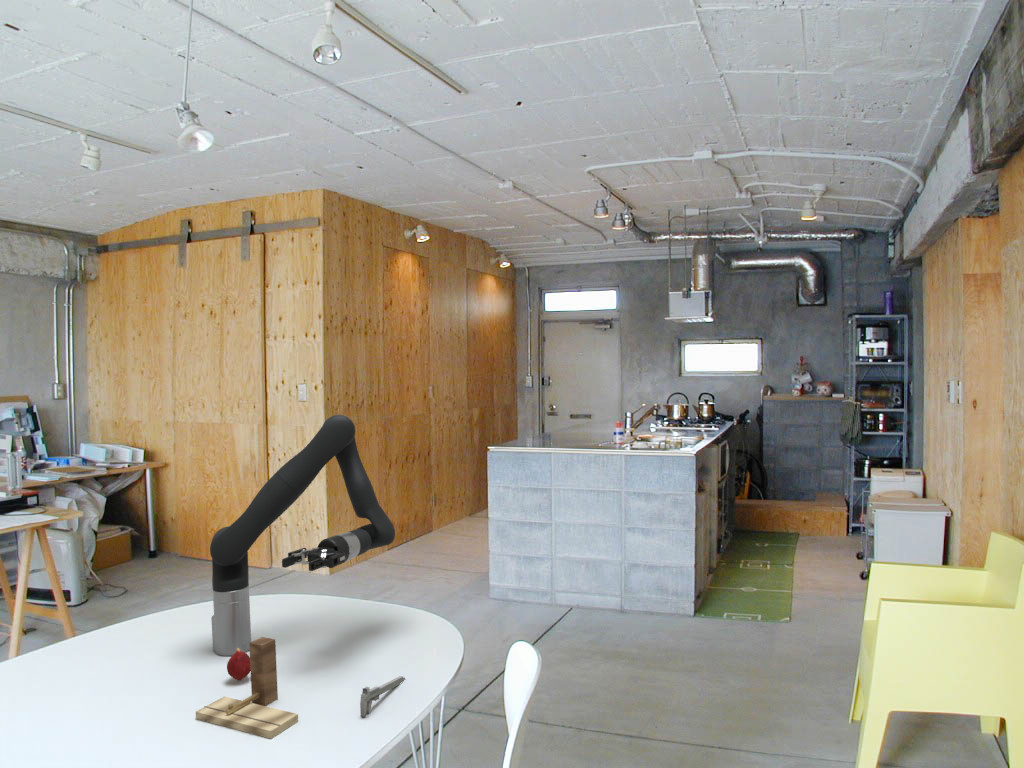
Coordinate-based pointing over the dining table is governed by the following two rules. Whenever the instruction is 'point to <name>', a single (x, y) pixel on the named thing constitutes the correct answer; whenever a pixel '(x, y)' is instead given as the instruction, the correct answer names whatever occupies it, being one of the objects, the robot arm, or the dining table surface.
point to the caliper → (376, 694)
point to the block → (261, 674)
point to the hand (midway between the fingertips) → (296, 565)
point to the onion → (239, 665)
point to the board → (248, 717)
